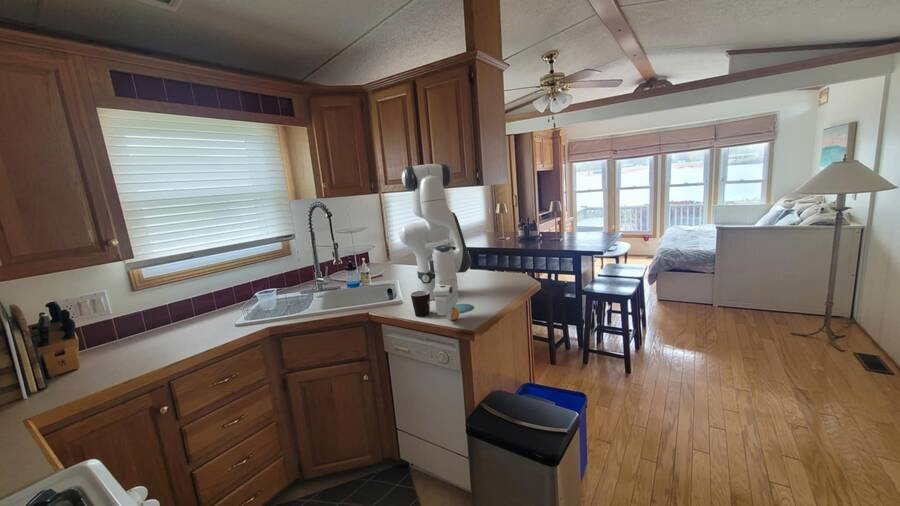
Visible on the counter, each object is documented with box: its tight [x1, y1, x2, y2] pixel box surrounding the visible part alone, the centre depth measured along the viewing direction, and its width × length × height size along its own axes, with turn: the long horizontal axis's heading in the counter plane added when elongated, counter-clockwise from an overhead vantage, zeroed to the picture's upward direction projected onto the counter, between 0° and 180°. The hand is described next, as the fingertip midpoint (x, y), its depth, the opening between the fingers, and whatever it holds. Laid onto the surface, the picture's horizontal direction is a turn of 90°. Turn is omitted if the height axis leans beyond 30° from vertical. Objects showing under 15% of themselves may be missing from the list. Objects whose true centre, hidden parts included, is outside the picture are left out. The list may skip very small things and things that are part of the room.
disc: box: [453, 303, 474, 314], centre depth 167 cm, size 12×12×1 cm
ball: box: [445, 307, 460, 321], centre depth 153 cm, size 6×6×6 cm
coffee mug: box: [410, 290, 431, 318], centre depth 164 cm, size 12×9×10 cm
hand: (449, 318), depth 150 cm, fingers closed
